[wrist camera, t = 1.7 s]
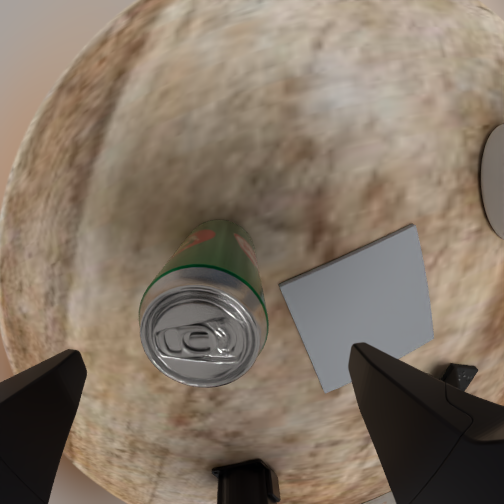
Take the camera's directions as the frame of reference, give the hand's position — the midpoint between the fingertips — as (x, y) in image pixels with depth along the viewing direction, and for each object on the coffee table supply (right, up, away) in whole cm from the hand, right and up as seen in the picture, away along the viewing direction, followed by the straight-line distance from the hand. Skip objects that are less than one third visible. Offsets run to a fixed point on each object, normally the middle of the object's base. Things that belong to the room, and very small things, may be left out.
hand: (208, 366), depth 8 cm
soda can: (-1, +3, +13) cm, 14 cm away
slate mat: (+11, -2, +15) cm, 19 cm away
